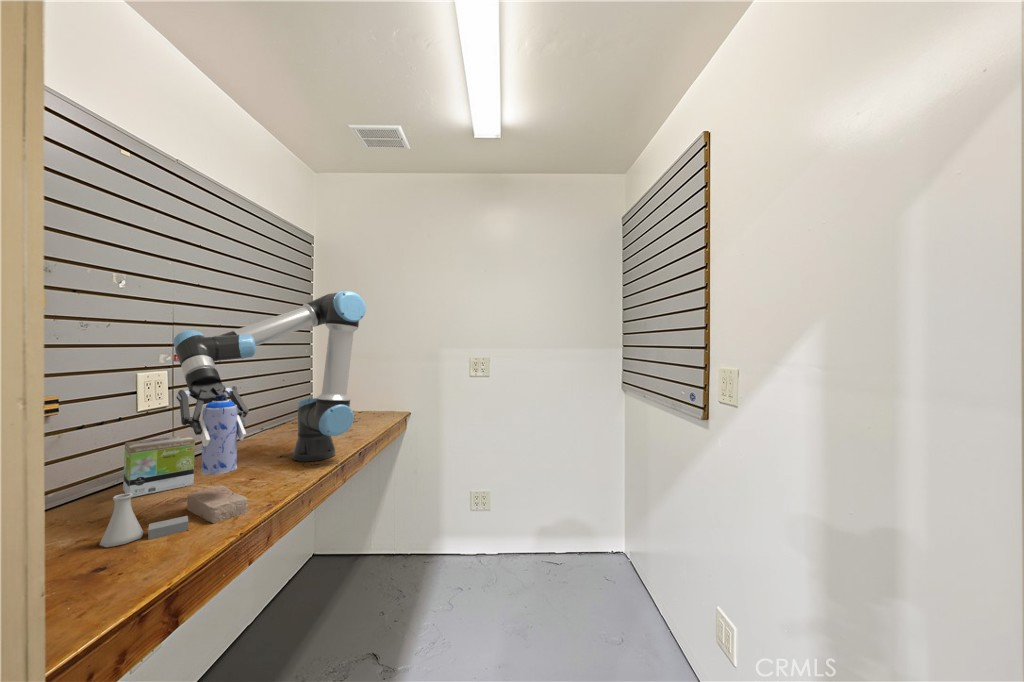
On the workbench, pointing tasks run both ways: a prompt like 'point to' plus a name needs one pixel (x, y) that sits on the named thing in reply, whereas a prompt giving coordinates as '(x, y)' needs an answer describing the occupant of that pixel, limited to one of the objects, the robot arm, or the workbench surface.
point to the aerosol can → (220, 437)
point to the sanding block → (167, 527)
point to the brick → (217, 504)
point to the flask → (122, 523)
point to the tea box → (158, 464)
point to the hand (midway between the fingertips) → (225, 439)
